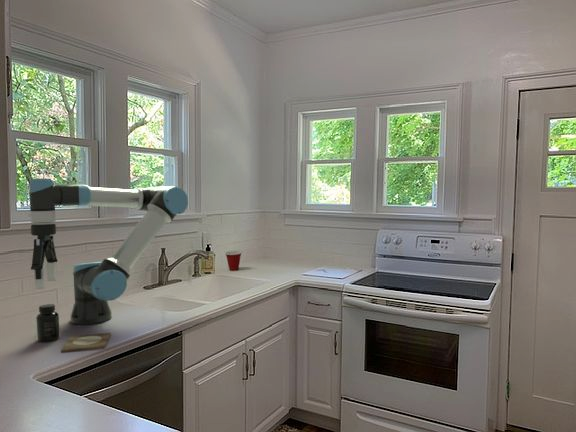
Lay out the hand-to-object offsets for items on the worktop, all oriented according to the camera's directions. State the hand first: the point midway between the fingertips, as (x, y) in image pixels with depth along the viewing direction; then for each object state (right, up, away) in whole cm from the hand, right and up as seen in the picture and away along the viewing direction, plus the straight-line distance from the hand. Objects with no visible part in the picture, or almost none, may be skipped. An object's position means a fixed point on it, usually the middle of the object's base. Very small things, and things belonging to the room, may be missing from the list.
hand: (45, 284), depth 152 cm
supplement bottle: (0, -20, +1) cm, 20 cm away
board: (+16, -19, -3) cm, 25 cm away
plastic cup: (+49, -12, +132) cm, 141 cm away
